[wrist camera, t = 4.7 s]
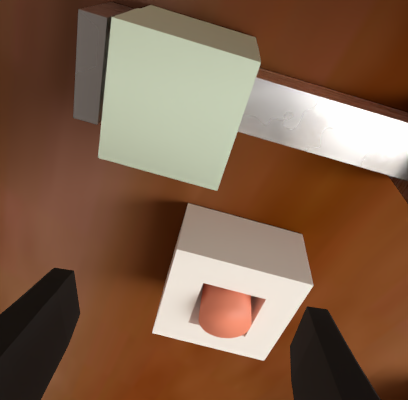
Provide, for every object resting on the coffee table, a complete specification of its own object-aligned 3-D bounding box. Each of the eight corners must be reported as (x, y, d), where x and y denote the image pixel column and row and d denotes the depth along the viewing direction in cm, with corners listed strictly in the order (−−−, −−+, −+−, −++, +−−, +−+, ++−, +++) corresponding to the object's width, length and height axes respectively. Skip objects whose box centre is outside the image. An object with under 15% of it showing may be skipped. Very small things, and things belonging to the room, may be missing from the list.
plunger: (256, 254, 21) (259, 312, 18) (242, 284, 23) (241, 343, 19) (212, 242, 21) (206, 298, 17) (201, 273, 22) (193, 330, 19)
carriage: (256, 36, 15) (260, 62, 10) (223, 137, 17) (217, 191, 13) (150, 3, 14) (111, 16, 10) (134, 111, 17) (97, 157, 13)
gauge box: (302, 234, 20) (313, 285, 17) (261, 307, 24) (264, 360, 21) (187, 203, 20) (176, 249, 17) (164, 282, 24) (152, 333, 20)
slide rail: (457, 107, 16) (505, 139, 13) (406, 180, 18) (437, 221, 15) (111, 1, 15) (78, 9, 12) (102, 92, 17) (73, 117, 14)
